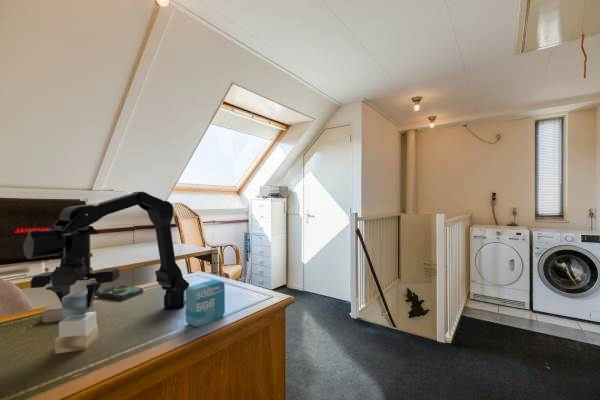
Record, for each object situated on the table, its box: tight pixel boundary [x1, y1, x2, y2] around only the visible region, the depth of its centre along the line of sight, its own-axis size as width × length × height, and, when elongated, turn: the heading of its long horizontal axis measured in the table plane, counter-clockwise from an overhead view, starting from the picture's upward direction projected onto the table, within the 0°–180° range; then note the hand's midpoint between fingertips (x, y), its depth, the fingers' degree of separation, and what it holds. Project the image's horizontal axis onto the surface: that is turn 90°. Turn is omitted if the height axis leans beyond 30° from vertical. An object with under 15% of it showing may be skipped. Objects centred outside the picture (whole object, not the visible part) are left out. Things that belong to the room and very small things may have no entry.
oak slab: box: [54, 323, 99, 355], centre depth 76 cm, size 7×7×4 cm
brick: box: [42, 299, 68, 323], centre depth 100 cm, size 16×8×5 cm, turn 19°
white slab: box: [58, 311, 97, 338], centre depth 76 cm, size 6×6×4 cm
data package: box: [185, 279, 226, 328], centre depth 91 cm, size 12×4×12 cm, turn 144°
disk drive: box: [95, 285, 144, 302], centre depth 117 cm, size 10×3×15 cm
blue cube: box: [62, 290, 94, 317], centre depth 76 cm, size 5×5×5 cm
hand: (77, 308), depth 76 cm, fingers closed on blue cube, 5 cm apart
